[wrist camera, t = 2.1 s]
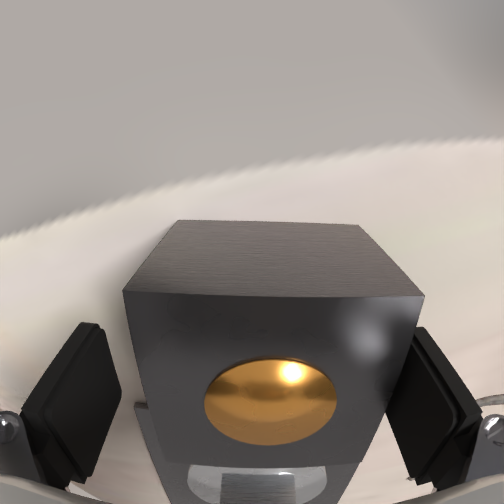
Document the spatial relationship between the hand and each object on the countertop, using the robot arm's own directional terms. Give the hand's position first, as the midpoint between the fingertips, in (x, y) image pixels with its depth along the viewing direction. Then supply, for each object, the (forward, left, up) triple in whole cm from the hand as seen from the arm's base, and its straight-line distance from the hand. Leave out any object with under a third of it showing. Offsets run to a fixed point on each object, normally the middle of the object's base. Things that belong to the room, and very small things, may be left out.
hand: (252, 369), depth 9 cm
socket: (-1, 0, -4) cm, 4 cm away
